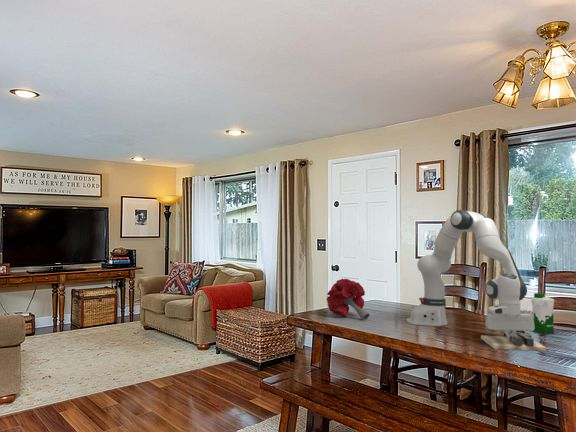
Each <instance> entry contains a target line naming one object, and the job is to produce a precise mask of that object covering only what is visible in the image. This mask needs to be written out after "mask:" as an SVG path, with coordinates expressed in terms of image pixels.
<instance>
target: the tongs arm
mask: <svg viewBox="0 0 576 432" xmlns="http://www.w3.org/2000/svg"><path fill="white" fill-rule="evenodd" d="M508 334H509V335H511V334H512V332H508ZM511 341H512V342H513V343H514V344H515V345H521V346H522V338H521V337H519V336H518V335H516V334H515V335H514V340H511Z"/></svg>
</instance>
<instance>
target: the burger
mask: <svg viewBox="0 0 576 432" xmlns="http://www.w3.org/2000/svg"><path fill="white" fill-rule="evenodd" d="M503 332H504V331H503ZM509 332H510V331H509ZM516 332H521V333H523V334H525V335H526V336H528V337H530V338H532V334H530V333H528V332H526V331H516ZM507 333H508V332H507ZM503 334H504V336H506V334H505V332H504V333H503Z"/></svg>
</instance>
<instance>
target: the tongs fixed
mask: <svg viewBox="0 0 576 432" xmlns="http://www.w3.org/2000/svg"><path fill="white" fill-rule="evenodd" d="M509 331H510V332H511V330H509ZM516 331H518V330H516ZM516 335H518V336H519V337H521V338H522V343H524V344H525V345H527V346H534V341H535V340H534V338H532V337H531V338H530V337H528V336H526V335H525V334H523V333H521V332H516Z"/></svg>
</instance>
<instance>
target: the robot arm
mask: <svg viewBox="0 0 576 432" xmlns="http://www.w3.org/2000/svg"><path fill="white" fill-rule="evenodd" d="M465 232H466V233H473V234H474V238H475V242H476V243H475V244H476V247H477V249H478V251H479V252H480V254H482V255H484V256H485V257H487V258H490V259H493V260H496V261H497V262H499V263H500V264H501V265H502V266H503V268H504V270H505V273H501V274H500V275H498V277H495V278H494V279H491V280H490V279H489V280H488V281H487V282H486V283H485V288H484V289H485V294H486V296H487V297H488V298H490V299H491V300H498V304H496V305H491V306H489V307H488V308H487V311H488V312H487V314H486V317H485V327H486V328H487V329H488V330H495V331H498V330H499V331H501V330H502V331H503V332H505V336H507V340H514V335H515V334H516V330H518V331H525V332H532V331H533V330H534V329H535V326H534V320H533V319H534V313H533V310H532V311H531V310H529V309H521V300H523V299H525V297H526V296H527V294H528V288H527V285H526V282H524V280H523V278H522V277H521V275H520V271H519V269H518V267H517V265H516V262H515V259H514V258H513V255H512V253H511V250H510V249H508V248H507V247H505V246H504V244H503V243H502V241H501V238H500V233H499V231H498V227H497V225H496V223H495V221H494V220H493V218H489V217H487V216H485V215H484V214H482V213H478V212H475V211H469V210H465V209H457V210H455V211H453V213H452V214H451V216H448V218H447V219H446V220H445V221H444V223H443V225H442V226H441V228H440V230H439V232H438V233H437V235H436V238H435V240H434V243H433V245H434V249H433V252H432V254H426V255H424V256H422V257H420V258H419V259H418V260H417V263H416V264H417V265H416V266H417V269H418V271H419V272H420V273H421V276H422V280H423V284H424V285H423V287H424V290H423V291H424V293H423V294H424V296H423V297H421V296H420V297H419V298H418V300H419V301H420V304H419V305H417V306H416V307H414V308H413V309H412V310H411V312H410V317H407V318H406V322H407V323H408V324H411V325H419V326H430V327H431V326H432V327H442V326H447V325H449V323H448V320H447V314H446V307H447V306H446V305H447V303H446V301H447V300H446V297H445V295H446V291H445V288H446V287H445V283H444V282H443V281H442V280H443V279H442V276H441V274H443V273H445V272H447V271H449V270H450V268H451V266H452V262H451V259H452V255H453V252H454V250H455V248H456V246H457V244H458V242H459V239H461V236H462V234H463V233H465ZM509 330H511V332H512V334H511V335H509V334H508V333H507V332H509Z"/></svg>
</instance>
